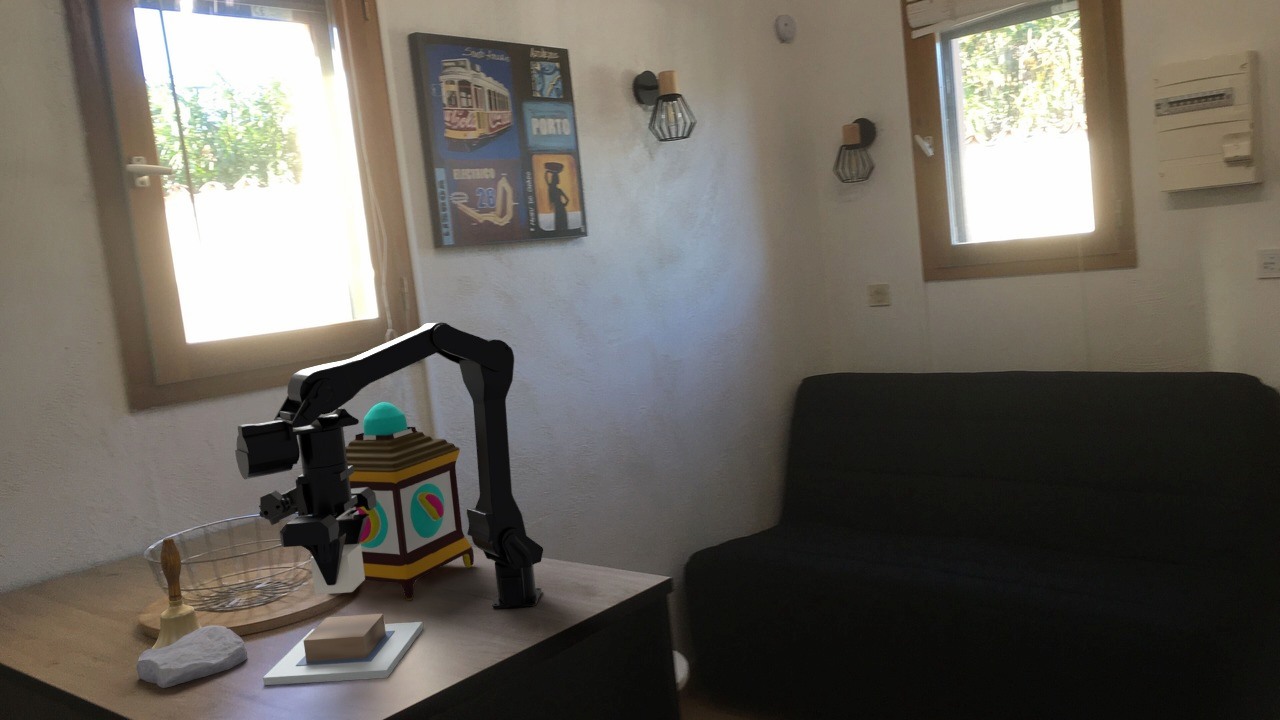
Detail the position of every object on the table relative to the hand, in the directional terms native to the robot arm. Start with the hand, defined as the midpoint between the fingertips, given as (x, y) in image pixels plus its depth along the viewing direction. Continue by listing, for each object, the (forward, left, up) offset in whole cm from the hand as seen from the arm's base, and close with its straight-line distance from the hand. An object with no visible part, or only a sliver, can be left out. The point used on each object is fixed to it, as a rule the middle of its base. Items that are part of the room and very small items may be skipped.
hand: (339, 578), depth 128 cm
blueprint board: (0, 0, -11) cm, 11 cm away
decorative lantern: (-31, -2, -11) cm, 33 cm away
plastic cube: (0, 0, -1) cm, 1 cm away
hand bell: (-7, -27, -11) cm, 30 cm away
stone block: (+1, -20, -11) cm, 23 cm away
